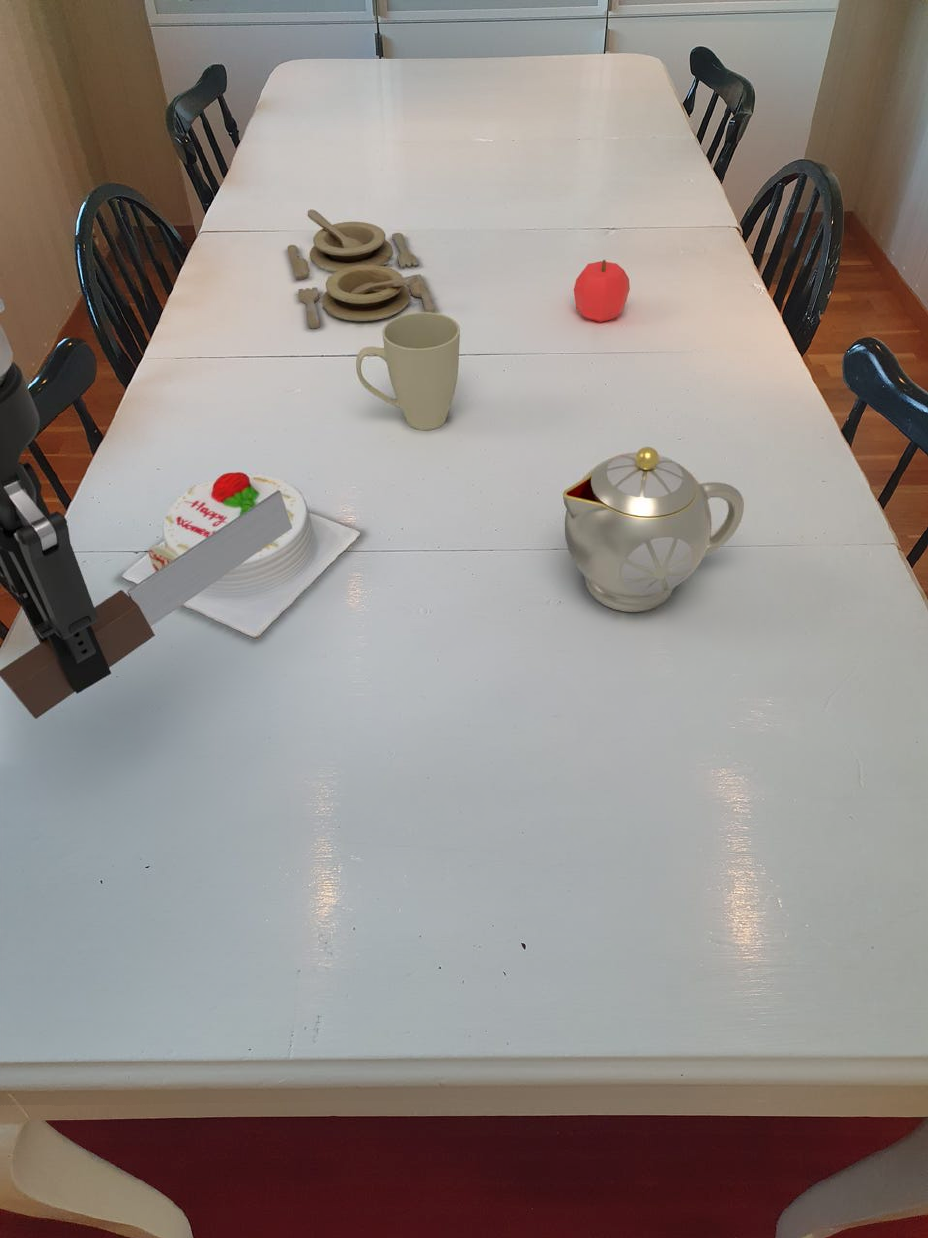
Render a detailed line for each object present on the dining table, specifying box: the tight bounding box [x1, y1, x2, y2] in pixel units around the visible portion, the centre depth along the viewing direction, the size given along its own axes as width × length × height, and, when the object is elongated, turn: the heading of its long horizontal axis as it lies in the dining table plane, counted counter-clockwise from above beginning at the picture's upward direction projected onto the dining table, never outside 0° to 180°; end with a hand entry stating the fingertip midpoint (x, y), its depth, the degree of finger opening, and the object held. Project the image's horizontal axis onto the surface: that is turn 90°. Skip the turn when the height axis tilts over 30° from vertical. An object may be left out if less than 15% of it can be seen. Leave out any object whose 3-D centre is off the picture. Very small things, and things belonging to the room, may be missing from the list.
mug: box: [355, 311, 461, 431], centre depth 109 cm, size 11×10×12 cm
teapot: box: [562, 446, 745, 613], centre depth 85 cm, size 18×14×16 cm
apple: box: [573, 259, 631, 323], centre depth 129 cm, size 8×8×8 cm
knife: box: [0, 490, 292, 720], centre depth 68 cm, size 24×2×4 cm, turn 135°
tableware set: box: [287, 209, 436, 330], centre depth 139 cm, size 30×20×6 cm, turn 14°
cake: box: [121, 471, 361, 639], centre depth 93 cm, size 18×18×8 cm
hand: (80, 669), depth 66 cm, fingers closed on knife, 2 cm apart
